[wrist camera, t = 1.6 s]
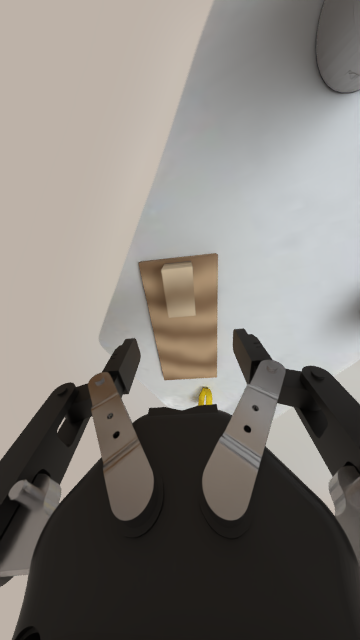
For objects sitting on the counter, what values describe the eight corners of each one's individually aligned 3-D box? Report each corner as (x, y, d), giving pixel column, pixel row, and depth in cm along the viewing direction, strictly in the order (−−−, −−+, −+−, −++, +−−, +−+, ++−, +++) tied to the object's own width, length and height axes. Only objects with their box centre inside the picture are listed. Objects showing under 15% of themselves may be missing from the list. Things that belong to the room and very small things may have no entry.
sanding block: (164, 263, 24) (161, 269, 20) (190, 260, 24) (192, 266, 20) (170, 305, 28) (168, 317, 24) (193, 303, 27) (195, 315, 23)
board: (140, 261, 26) (138, 263, 24) (215, 253, 25) (217, 254, 24) (165, 375, 38) (164, 380, 37) (215, 372, 37) (216, 377, 36)
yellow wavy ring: (202, 382, 40) (205, 404, 34) (212, 384, 40) (217, 406, 35) (194, 399, 42) (197, 421, 37) (204, 400, 42) (208, 423, 37)
